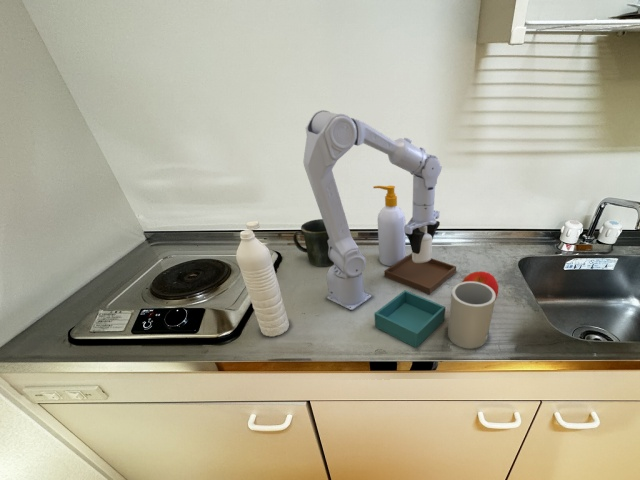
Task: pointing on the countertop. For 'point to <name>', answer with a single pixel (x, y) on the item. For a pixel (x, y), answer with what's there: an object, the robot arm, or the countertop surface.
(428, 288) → the tray
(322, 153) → the robot arm
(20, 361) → the countertop surface
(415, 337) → the bin
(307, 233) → the mug
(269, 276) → the water bottle
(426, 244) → the eye dropper bottle
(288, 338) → the countertop surface
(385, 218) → the soap bottle
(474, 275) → the apple
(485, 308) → the cup
